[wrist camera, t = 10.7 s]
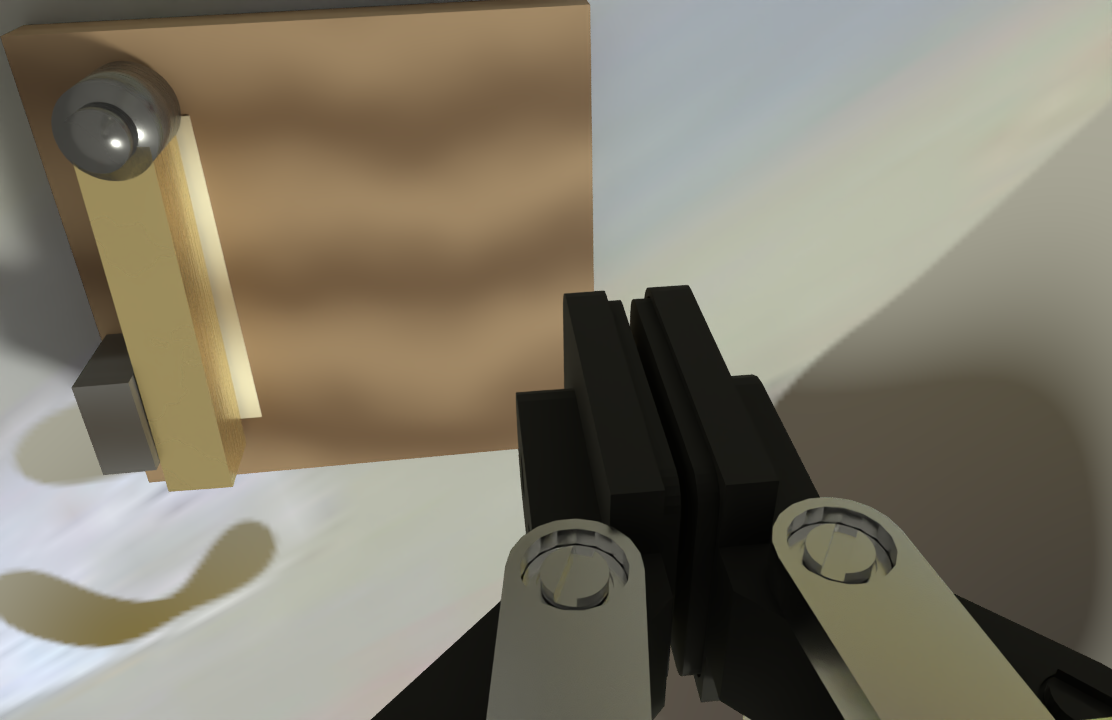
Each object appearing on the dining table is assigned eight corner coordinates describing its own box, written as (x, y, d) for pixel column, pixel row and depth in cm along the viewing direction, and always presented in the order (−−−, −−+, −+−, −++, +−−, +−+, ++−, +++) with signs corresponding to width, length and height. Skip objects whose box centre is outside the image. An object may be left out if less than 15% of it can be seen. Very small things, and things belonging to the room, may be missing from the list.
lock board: (23, 25, 32) (-56, 63, 27) (582, -5, 34) (607, 26, 29) (160, 455, 42) (122, 543, 37) (589, 417, 43) (609, 496, 38)
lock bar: (71, 62, 31) (25, 92, 27) (169, 59, 31) (135, 88, 28) (178, 448, 39) (152, 508, 35) (254, 442, 39) (236, 502, 36)
